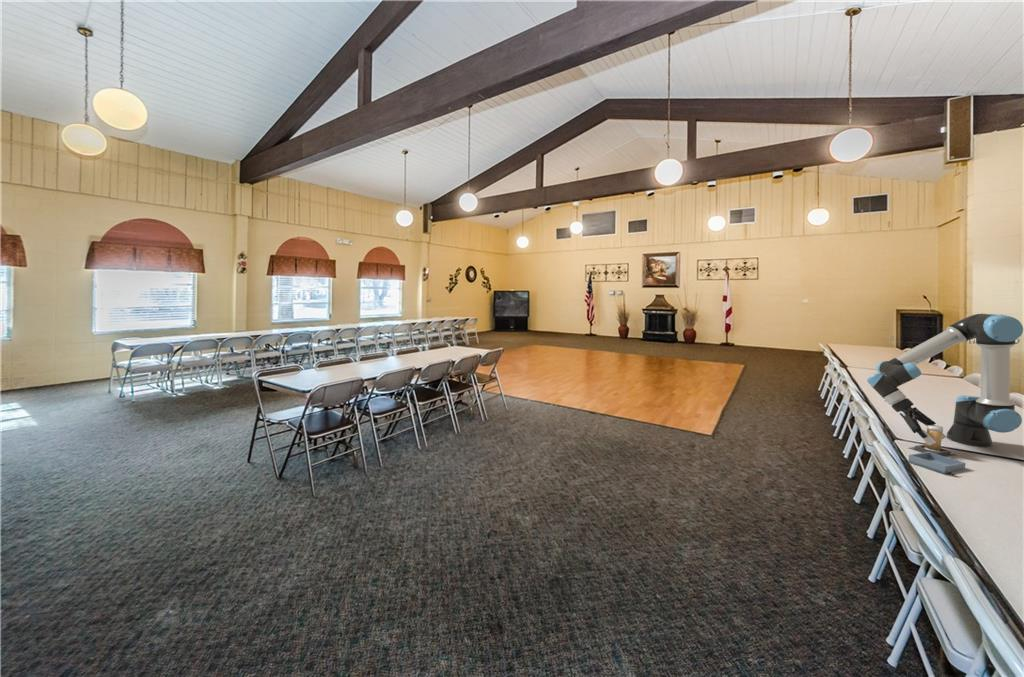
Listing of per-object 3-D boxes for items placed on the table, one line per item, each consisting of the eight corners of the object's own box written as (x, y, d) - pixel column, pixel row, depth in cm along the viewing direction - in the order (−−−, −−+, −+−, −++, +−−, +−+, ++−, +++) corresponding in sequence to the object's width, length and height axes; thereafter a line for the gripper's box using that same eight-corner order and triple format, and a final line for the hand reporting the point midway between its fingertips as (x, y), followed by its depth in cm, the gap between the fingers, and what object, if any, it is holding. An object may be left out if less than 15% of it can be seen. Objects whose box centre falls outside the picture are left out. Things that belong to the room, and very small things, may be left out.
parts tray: (927, 459, 180) (928, 451, 180) (964, 471, 169) (965, 463, 168) (908, 462, 177) (909, 454, 177) (944, 474, 165) (945, 466, 165)
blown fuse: (928, 448, 190) (932, 424, 188) (942, 452, 185) (945, 427, 183) (921, 450, 188) (924, 425, 187) (935, 454, 184) (938, 428, 182)
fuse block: (924, 447, 194) (925, 442, 194) (957, 457, 183) (958, 451, 182) (907, 450, 191) (907, 445, 191) (939, 460, 179) (940, 454, 179)
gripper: (901, 402, 204) (939, 439, 193) (880, 409, 192) (919, 450, 181) (916, 394, 199) (956, 432, 188) (896, 401, 187) (937, 442, 176)
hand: (938, 441), depth 184 cm, fingers open, 13 cm apart
